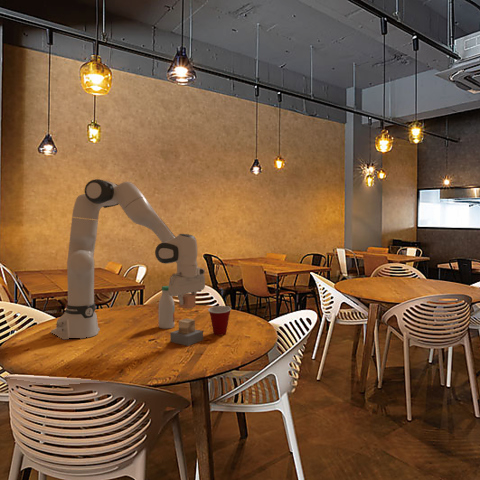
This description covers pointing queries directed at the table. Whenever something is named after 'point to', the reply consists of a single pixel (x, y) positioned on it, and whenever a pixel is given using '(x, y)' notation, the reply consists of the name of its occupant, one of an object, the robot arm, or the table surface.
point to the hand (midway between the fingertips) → (187, 303)
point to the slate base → (186, 337)
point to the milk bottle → (166, 309)
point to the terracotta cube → (188, 301)
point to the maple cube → (186, 326)
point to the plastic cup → (219, 319)
